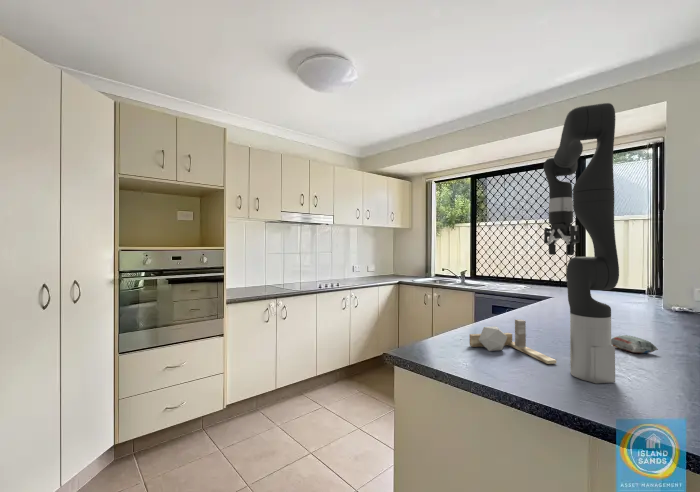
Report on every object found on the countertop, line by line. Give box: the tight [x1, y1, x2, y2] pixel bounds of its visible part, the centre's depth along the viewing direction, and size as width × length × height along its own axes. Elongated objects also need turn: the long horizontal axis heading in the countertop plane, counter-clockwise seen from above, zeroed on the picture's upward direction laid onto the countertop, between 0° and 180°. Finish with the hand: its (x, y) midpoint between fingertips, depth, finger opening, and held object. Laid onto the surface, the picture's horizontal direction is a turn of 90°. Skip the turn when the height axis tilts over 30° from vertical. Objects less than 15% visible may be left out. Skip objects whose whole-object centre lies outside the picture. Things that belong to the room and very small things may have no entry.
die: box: [479, 326, 507, 352], centre depth 116 cm, size 8×9×10 cm
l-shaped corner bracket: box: [469, 319, 557, 365], centre depth 110 cm, size 22×17×10 cm
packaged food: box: [611, 334, 659, 354], centre depth 114 cm, size 9×12×5 cm
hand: (561, 254), depth 121 cm, fingers open, 8 cm apart
